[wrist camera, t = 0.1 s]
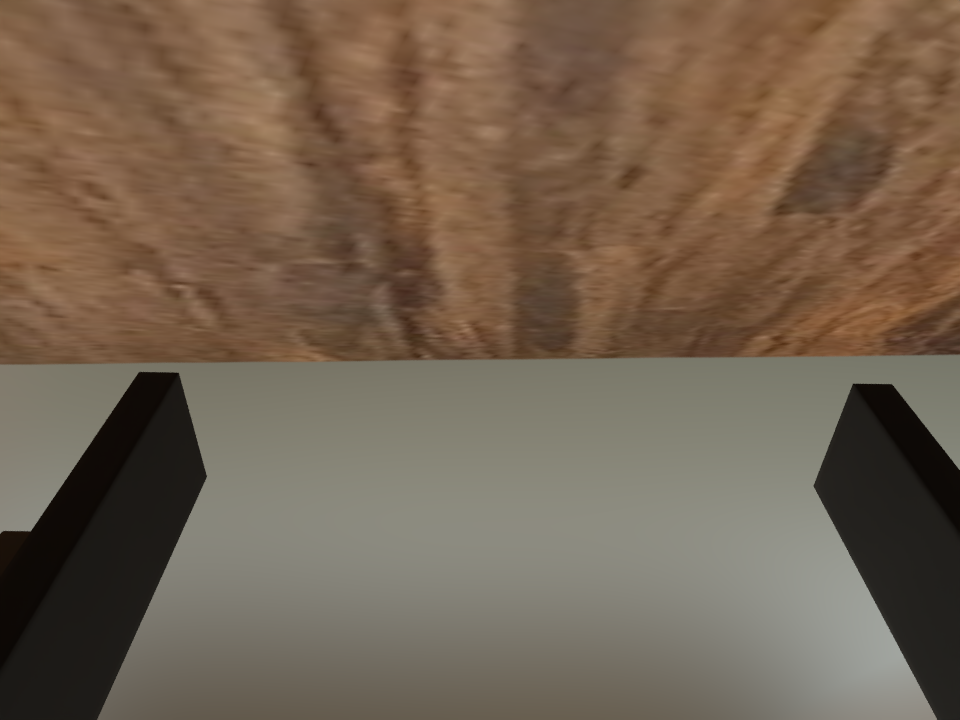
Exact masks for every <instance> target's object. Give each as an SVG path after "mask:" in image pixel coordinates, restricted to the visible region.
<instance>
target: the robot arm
mask: <svg viewBox="0 0 960 720" xmlns="http://www.w3.org/2000/svg"><path fill="white" fill-rule="evenodd" d="M206 477H207V475H206V472H205V468H204V464H203V461H202V457H201V453H200V450H199V446H198V442H197V438H196V435H195V431H194V428H193V424H192V420H191V417H190V413H189V409H188V405H187V402H186V398H185V395H184V390H183V387H182V384H181V380H180V376H179V373H166V372H164V373H163V372H162V373H161V372H160V373H159V372H139V373H138V375H137V376H136V377H135V379H134V380H133V382H132V383H131V385H130V386H129V388H128V389H127V391H126V392H125V394H124V395H123V397H122V398H121V400H120V401H119V403H118V404H117V405H116V407H115V408H114V410H113V411H112V413H111V414H110V416H109V417H108V419H107V420H106V422H105V423H104V425H103V426H102V428H101V429H100V430H99V432H98V433H97V435H96V436H95V438H94V439H93V441H92V442H91V444H90V445H89V447H88V448H87V450H86V451H85V453H84V454H83V455H82V457H81V458H80V460H79V462H78V463H77V465H76V466H75V467H74V469H73V470H72V472H71V473H70V475H69V476H68V478H67V479H66V480H65V482H64V484H63V485H62V486H61V488H60V489H59V491H58V492H57V494H56V495H55V497H54V498H53V500H52V501H51V503H50V504H49V506H48V507H47V509H46V510H45V511H44V513H43V515H42V516H41V517H40V519H39V520H38V522H37V523H36V525H35V526H34V528H33V529H32V531H31V532H28V531H3V532H2V533H1V534H0V720H97V718H98V716H99V714H100V712H101V710H102V707H103V705H104V703H105V701H106V699H107V696H108V694H109V692H110V690H111V687H112V685H113V683H114V681H115V679H116V676H117V674H118V672H119V670H120V668H121V665H122V663H123V661H124V659H125V657H126V654H127V652H128V650H129V647H130V645H131V643H132V641H133V639H134V637H135V634H136V632H137V630H138V628H139V626H140V623H141V621H142V619H143V617H144V615H145V612H146V610H147V608H148V606H149V603H150V601H151V599H152V597H153V595H154V592H155V590H156V588H157V586H158V584H159V581H160V579H161V577H162V575H163V573H164V570H165V568H166V566H167V564H168V561H169V559H170V557H171V555H172V553H173V550H174V548H175V546H176V544H177V542H178V539H179V537H180V535H181V533H182V530H183V528H184V526H185V524H186V522H187V519H188V517H189V515H190V513H191V511H192V508H193V506H194V504H195V502H196V500H197V497H198V495H199V493H200V491H201V488H202V486H203V484H204V482H205V480H206ZM814 488H815V490H816V492H817V494H818V495H819V497H820V499H821V501H822V503H823V505H824V507H825V509H826V510H827V512H828V514H829V516H830V518H831V520H832V522H833V524H834V525H835V527H836V529H837V531H838V533H839V535H840V537H841V539H842V541H843V542H844V544H845V546H846V548H847V550H848V552H849V554H850V556H851V558H852V560H853V561H854V563H855V565H856V567H857V569H858V571H859V573H860V575H861V576H862V578H863V580H864V582H865V584H866V586H867V588H868V589H869V591H870V593H871V595H872V597H873V599H874V601H875V603H876V604H877V607H878V609H879V610H880V612H881V614H882V616H883V618H884V620H885V622H886V624H887V625H888V627H889V629H890V631H891V633H892V635H893V637H894V638H895V641H896V642H897V644H898V646H899V648H900V650H901V652H902V654H903V655H904V658H905V659H906V661H907V663H908V665H909V667H910V669H911V671H912V673H913V674H914V676H915V678H916V680H917V682H918V684H919V686H920V688H921V689H922V691H923V693H924V695H925V697H926V699H927V701H928V703H929V705H930V706H931V708H932V710H933V712H934V714H935V716H936V718H937V720H960V470H959V469H958V468H957V466H956V465H955V464H954V463H953V461H952V460H951V459H950V457H949V456H948V455H947V453H946V452H945V451H944V450H943V449H942V447H941V446H940V445H939V443H938V442H937V441H936V440H935V438H934V437H933V436H932V434H931V433H930V432H929V431H928V429H927V428H926V427H925V425H924V424H923V423H922V422H921V421H920V419H919V418H918V417H917V415H916V414H915V413H914V411H913V410H912V409H911V408H910V406H909V405H908V404H907V403H906V401H905V400H904V399H903V397H902V396H901V395H900V394H899V393H898V391H897V390H896V389H895V388H894V386H893V385H892V384H853V385H852V388H851V390H850V393H849V395H848V398H847V401H846V403H845V406H844V408H843V411H842V414H841V416H840V419H839V421H838V424H837V427H836V429H835V432H834V435H833V437H832V440H831V442H830V445H829V447H828V450H827V453H826V455H825V458H824V460H823V463H822V465H821V468H820V471H819V473H818V476H817V479H816V481H815V484H814Z"/></svg>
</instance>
